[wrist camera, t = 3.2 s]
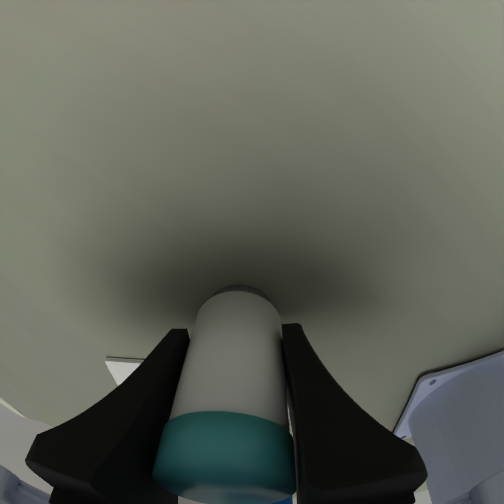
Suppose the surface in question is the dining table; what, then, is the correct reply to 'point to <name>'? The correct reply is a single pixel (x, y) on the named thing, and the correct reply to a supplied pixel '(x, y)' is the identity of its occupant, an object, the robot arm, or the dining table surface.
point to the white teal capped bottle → (230, 408)
